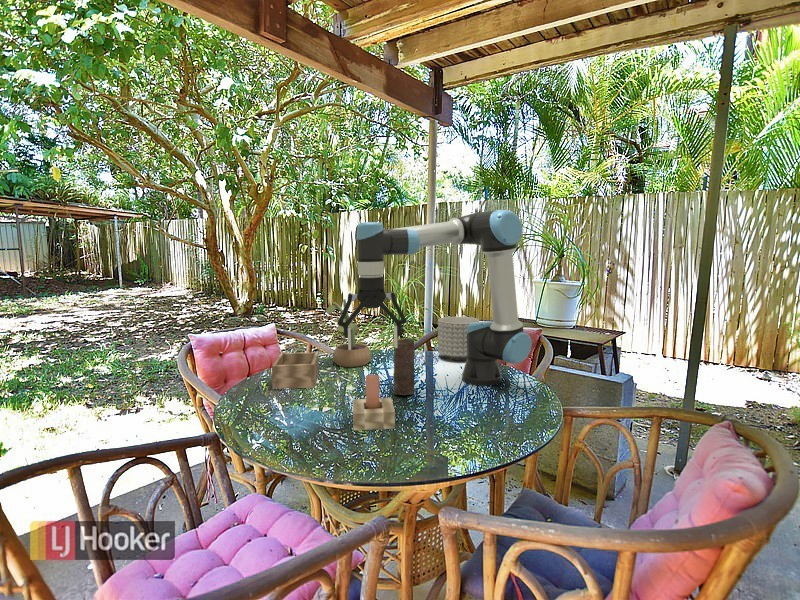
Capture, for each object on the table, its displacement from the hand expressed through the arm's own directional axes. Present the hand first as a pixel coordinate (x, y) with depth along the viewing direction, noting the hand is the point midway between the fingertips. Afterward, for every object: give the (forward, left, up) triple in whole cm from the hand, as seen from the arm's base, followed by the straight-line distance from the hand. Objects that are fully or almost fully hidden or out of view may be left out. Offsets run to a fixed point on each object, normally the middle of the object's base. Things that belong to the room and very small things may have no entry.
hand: (372, 348), depth 132 cm
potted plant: (+8, -66, -23) cm, 70 cm away
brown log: (-12, -23, -23) cm, 34 cm away
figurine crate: (+28, -44, -23) cm, 57 cm away
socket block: (0, 0, -23) cm, 23 cm away
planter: (-43, -71, -23) cm, 86 cm away
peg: (0, 0, -23) cm, 23 cm away
